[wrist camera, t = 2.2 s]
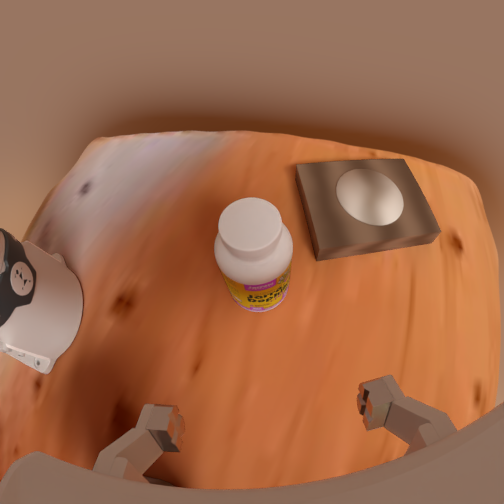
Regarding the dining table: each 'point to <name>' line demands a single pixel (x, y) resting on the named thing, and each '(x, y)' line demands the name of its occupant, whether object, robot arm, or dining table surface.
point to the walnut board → (363, 207)
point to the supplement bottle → (254, 253)
